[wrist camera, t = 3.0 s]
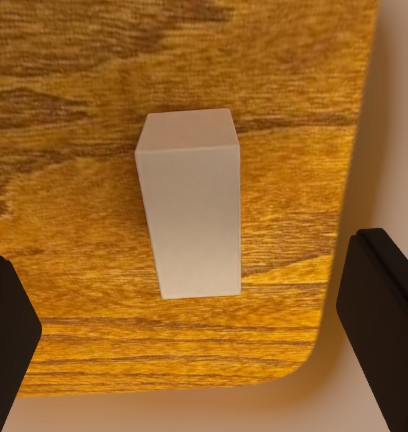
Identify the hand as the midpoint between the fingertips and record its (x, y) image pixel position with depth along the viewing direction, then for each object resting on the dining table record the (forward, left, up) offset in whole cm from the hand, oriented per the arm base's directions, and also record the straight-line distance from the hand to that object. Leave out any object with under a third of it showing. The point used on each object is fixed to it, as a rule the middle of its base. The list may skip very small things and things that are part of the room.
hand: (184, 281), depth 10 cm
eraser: (0, 0, -6) cm, 6 cm away
